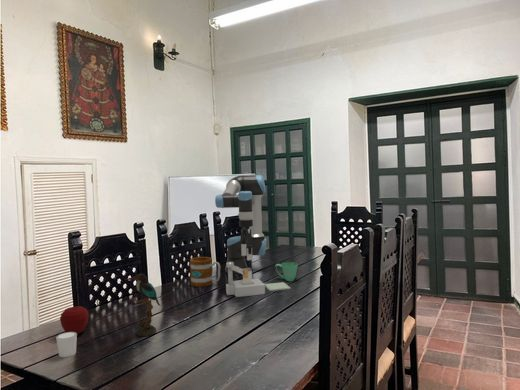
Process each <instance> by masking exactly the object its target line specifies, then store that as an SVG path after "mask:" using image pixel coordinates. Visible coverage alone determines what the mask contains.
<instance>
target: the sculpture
mask: <svg viewBox="0 0 520 390" xmlns="http://www.w3.org/2000/svg"><path fill="white" fill-rule="evenodd" d="M124 280H125V281H136V283H135V284H136V285H135V287H136V290H137V291H138V292H139V293H140V294H142V295H143V297H142V299H140V300H137V298H135V297H132V302H134V301H135V302H136V303H144V305H146V306H147V309H146V310H145V315H146V318H145V317H143V320H141V317H142V316H143V313H141V310H138V311H137V312H136V315H137V317H136V319H137V325H138V326H139V328H138V329H136V332H135V334H136V335H137V336H138V337H142V336H143V337H150V336H154V335H155V334H156V333H157V328H156V327H155V326H154V325H152V324H151V323H152V318H153V315H154V314H153V313H152V309H154V305H153V304H152V301H155V302H156V304H157V305H158V306H161V304H160V301H159V299H158V296H157V291H156V289H155V287H154V286H153V284H152V283H150V282H149V279H148V278H147V275H145V274H144V273H139V274H137V275H135V276H132V277H128V278H125V279H124ZM139 313H141V314H140V316H139Z"/></svg>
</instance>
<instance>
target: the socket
mask: <svg viewBox="0 0 520 390" xmlns="http://www.w3.org/2000/svg"><path fill="white" fill-rule="evenodd" d="M233 275H234V273H233V272H232V269H231V268H228V273H227V276H228V277H227V278H228V283H226V284H225V291H226V296H231V295H233V296H235V297H236V298H239V297H241V298H242V297H248V296H249V297H250V296H258V295H265V294H266V287H265V285H264V284H265V283H264V282H263V281H261V280H260V279H259V278H252V280H253V281H254V283H253V284H247V285H243V284H242V282H241V280H242V279H239V280H234V279H233V278H234V277H233Z"/></svg>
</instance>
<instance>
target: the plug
mask: <svg viewBox="0 0 520 390" xmlns="http://www.w3.org/2000/svg"><path fill="white" fill-rule="evenodd" d="M243 269H245V268H243ZM246 269H248V278H243V277H242V279H240V280H241V282H242V284H243V285H247V284H253V283H254V281H253V280H252V279H253V269H252V267H248V268H246Z"/></svg>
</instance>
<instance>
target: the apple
mask: <svg viewBox="0 0 520 390" xmlns="http://www.w3.org/2000/svg"><path fill="white" fill-rule="evenodd" d="M89 315H90V314H89V310H88V309H87V308H85V307H83V306H80V305H79V306H78V305H77V306H71V307H68V308H65V309H64V311H62V312H61V314H60V317H59V321H60V324H61V327H62V329H63V331H64V333H66V332H75V333H77V335H79V334H81V333H82V332H83V331H85V329H86V327H87V324H88V322H89V317H90V316H89Z"/></svg>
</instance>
